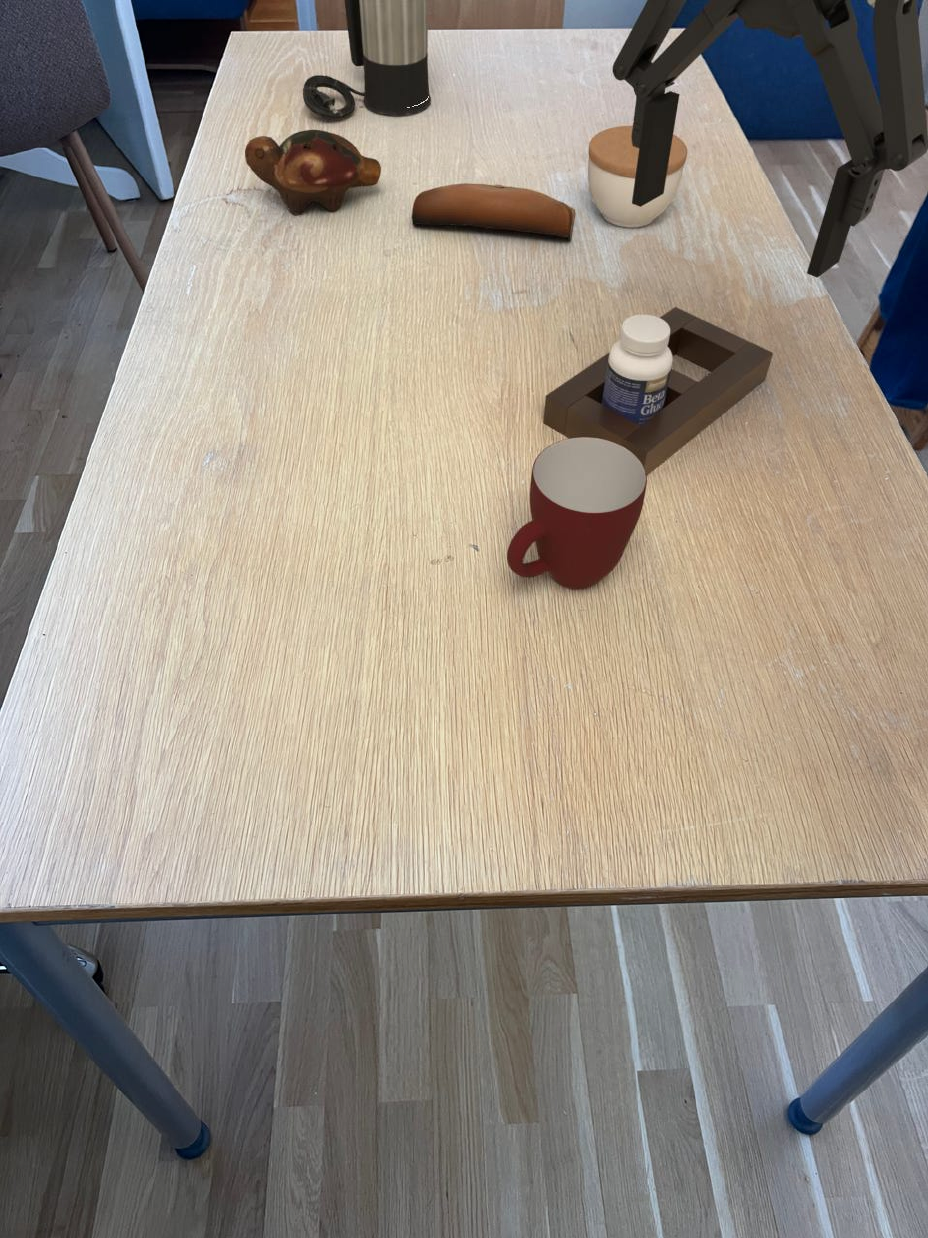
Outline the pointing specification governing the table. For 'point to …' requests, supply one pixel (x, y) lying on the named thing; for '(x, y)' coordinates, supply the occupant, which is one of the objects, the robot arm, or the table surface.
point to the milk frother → (381, 60)
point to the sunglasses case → (494, 209)
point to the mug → (580, 511)
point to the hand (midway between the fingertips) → (730, 231)
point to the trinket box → (627, 177)
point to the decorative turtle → (311, 168)
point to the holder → (685, 400)
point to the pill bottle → (639, 369)
